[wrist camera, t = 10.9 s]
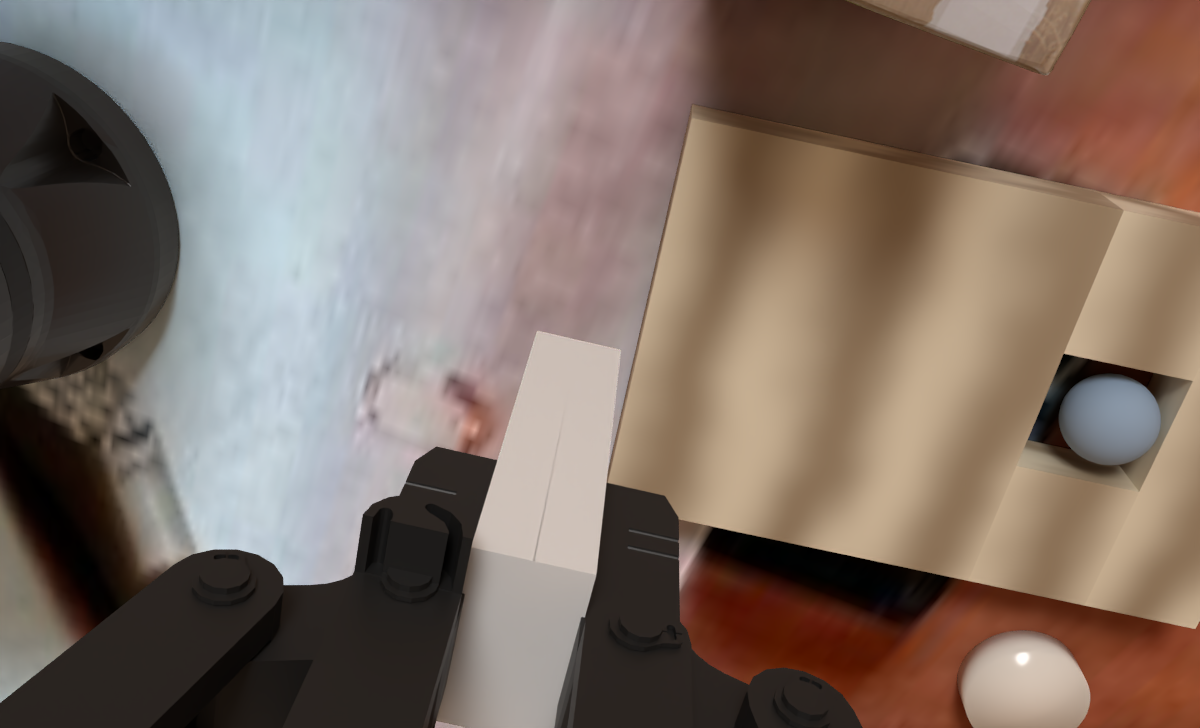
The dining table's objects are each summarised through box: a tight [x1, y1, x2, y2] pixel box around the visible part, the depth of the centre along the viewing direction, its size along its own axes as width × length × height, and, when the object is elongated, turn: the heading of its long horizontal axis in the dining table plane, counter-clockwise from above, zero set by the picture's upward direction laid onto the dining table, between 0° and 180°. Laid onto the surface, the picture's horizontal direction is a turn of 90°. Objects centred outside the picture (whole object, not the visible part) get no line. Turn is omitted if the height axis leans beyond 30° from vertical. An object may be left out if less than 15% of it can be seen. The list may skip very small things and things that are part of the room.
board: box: [606, 104, 1200, 629], centre depth 46 cm, size 28×18×3 cm, turn 79°
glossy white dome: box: [957, 630, 1090, 728], centre depth 53 cm, size 6×6×2 cm
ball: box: [1059, 373, 1161, 465], centre depth 45 cm, size 4×4×4 cm
